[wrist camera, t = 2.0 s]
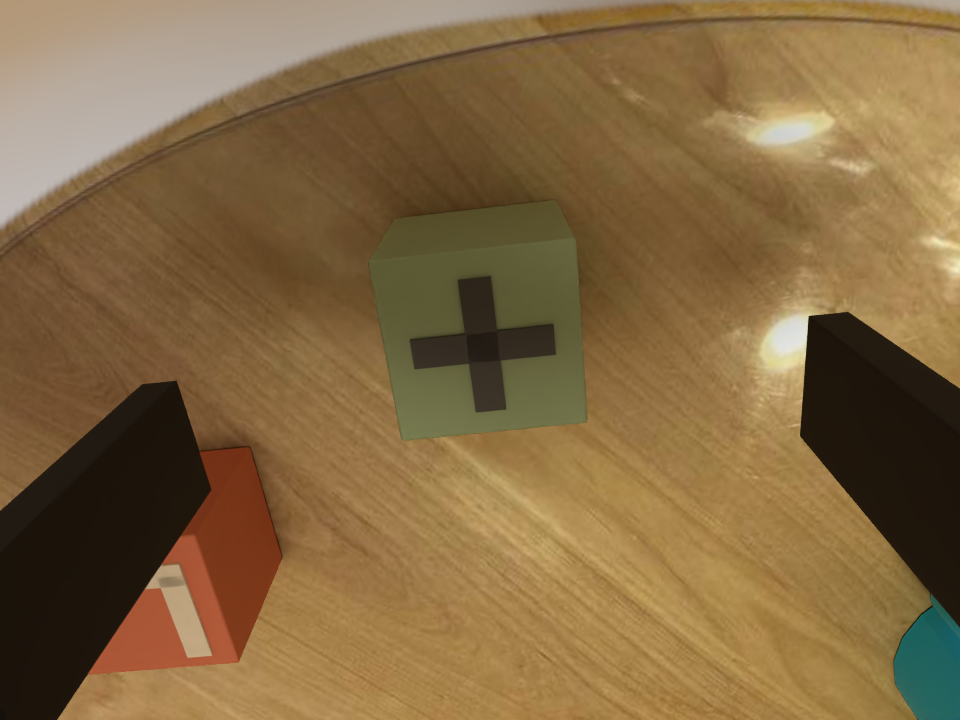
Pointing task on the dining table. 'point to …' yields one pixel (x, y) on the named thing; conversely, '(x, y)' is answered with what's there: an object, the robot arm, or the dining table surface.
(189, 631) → the letter block l
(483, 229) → the green plus cube
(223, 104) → the dining table surface
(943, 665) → the mug
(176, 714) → the dining table surface
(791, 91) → the dining table surface
